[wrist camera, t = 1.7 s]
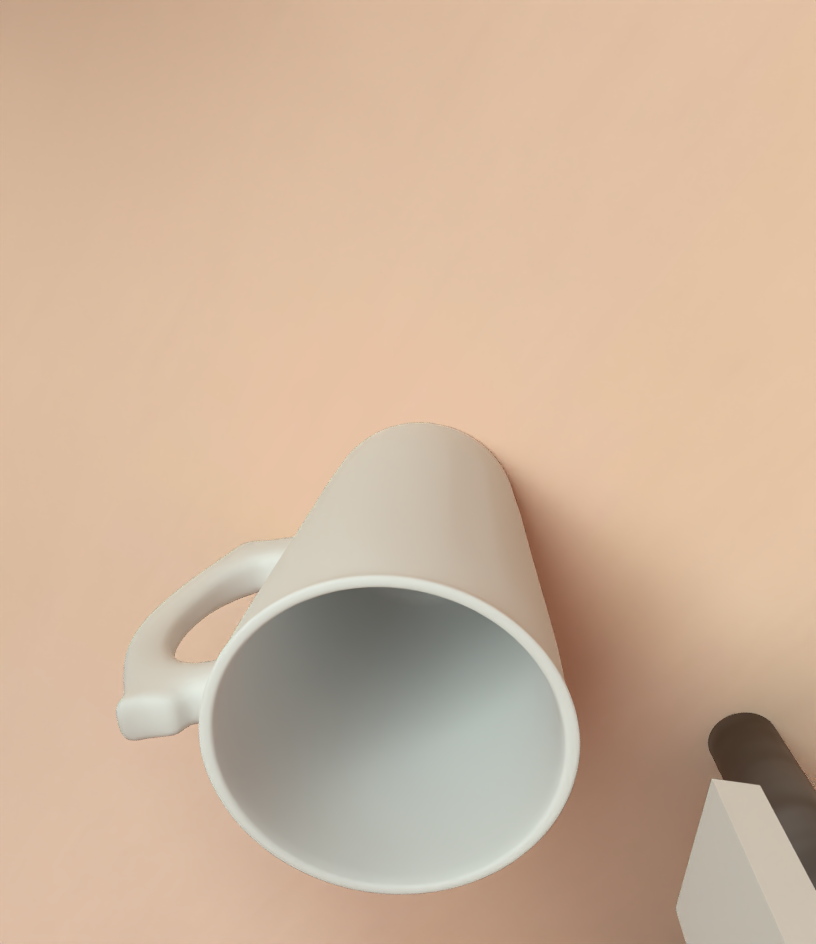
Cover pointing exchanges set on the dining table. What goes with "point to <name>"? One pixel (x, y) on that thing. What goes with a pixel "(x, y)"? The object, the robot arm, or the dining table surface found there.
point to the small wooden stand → (769, 777)
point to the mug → (377, 676)
